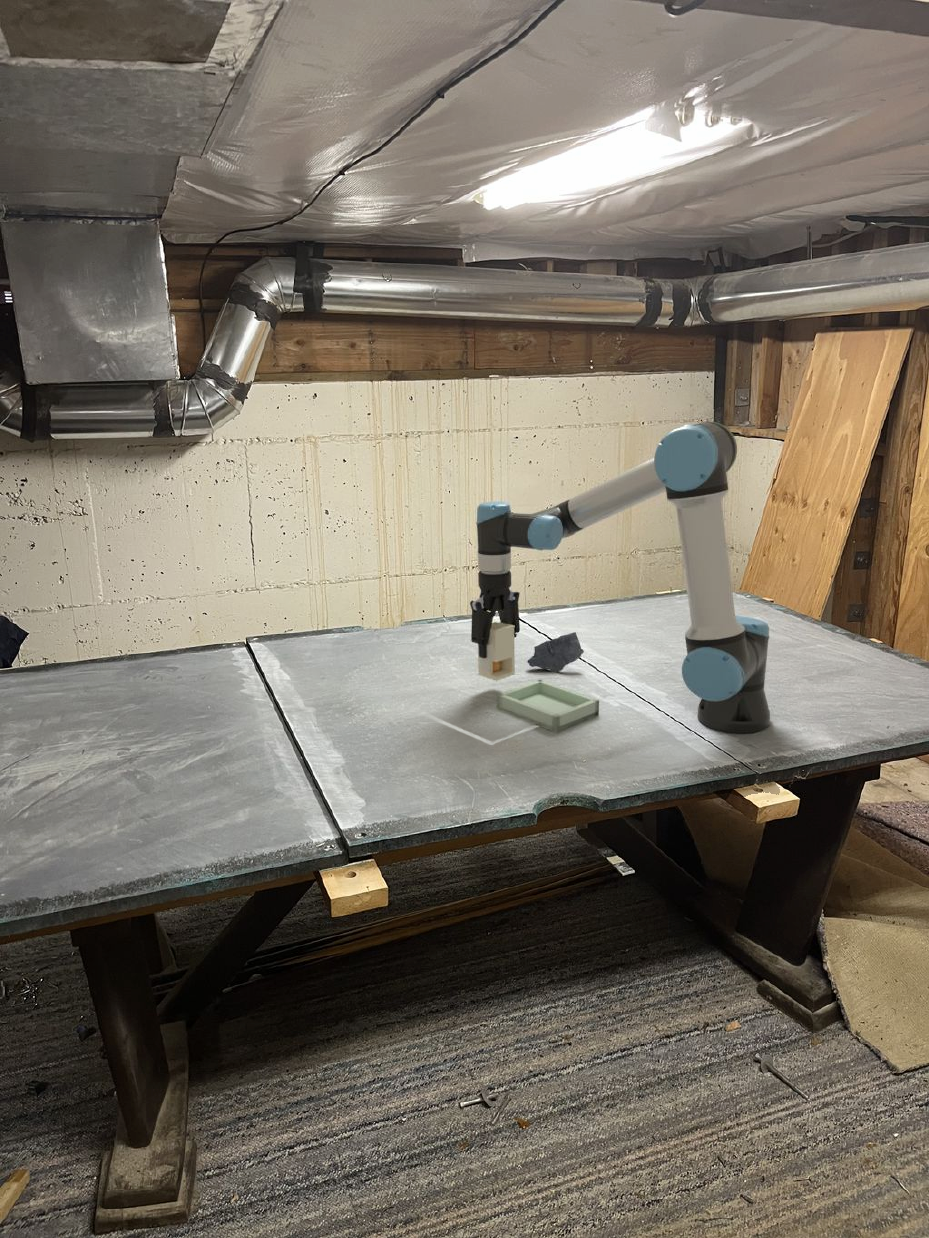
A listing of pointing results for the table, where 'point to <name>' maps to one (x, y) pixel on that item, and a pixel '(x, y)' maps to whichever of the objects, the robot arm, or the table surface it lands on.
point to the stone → (557, 653)
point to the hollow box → (500, 651)
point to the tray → (549, 705)
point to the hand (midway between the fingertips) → (496, 666)
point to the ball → (496, 666)
